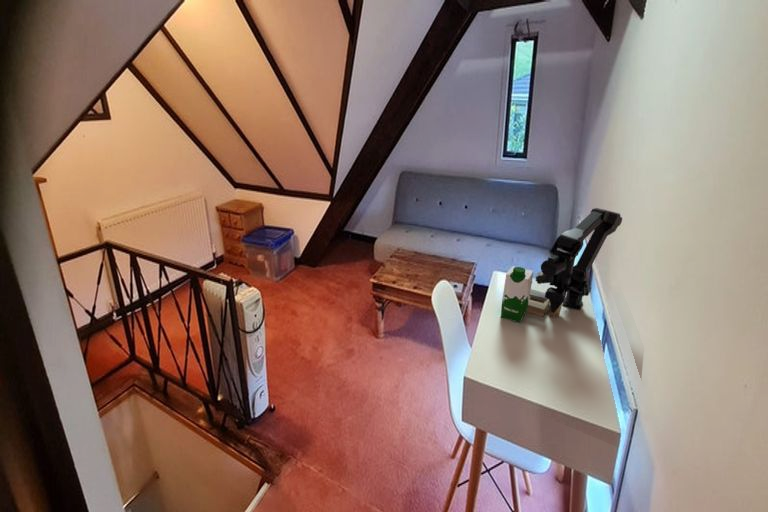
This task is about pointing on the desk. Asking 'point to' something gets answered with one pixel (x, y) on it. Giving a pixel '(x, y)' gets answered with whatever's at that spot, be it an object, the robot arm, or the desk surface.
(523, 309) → the milk carton
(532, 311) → the socket block
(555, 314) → the peg
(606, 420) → the desk surface
